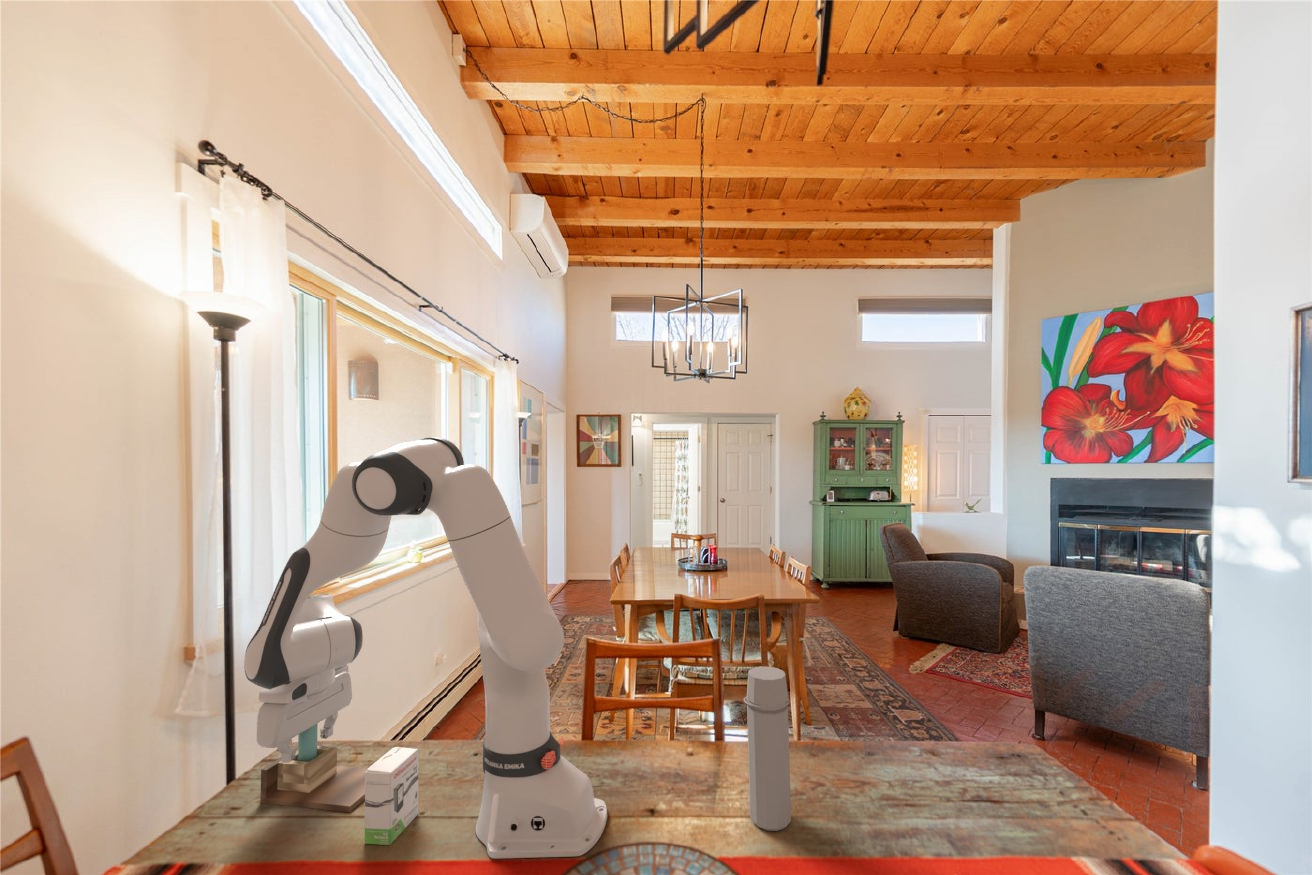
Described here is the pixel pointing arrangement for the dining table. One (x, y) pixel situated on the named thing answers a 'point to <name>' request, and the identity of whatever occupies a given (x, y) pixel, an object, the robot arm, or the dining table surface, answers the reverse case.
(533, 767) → the robot arm
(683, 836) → the dining table surface
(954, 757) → the dining table surface
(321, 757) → the wooden square socket
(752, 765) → the water bottle
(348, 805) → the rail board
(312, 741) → the dowel
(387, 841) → the ink box
